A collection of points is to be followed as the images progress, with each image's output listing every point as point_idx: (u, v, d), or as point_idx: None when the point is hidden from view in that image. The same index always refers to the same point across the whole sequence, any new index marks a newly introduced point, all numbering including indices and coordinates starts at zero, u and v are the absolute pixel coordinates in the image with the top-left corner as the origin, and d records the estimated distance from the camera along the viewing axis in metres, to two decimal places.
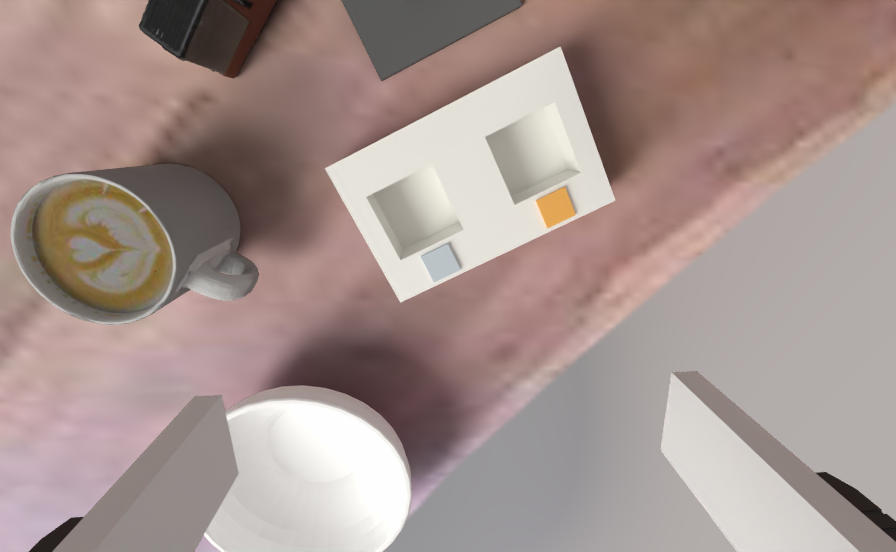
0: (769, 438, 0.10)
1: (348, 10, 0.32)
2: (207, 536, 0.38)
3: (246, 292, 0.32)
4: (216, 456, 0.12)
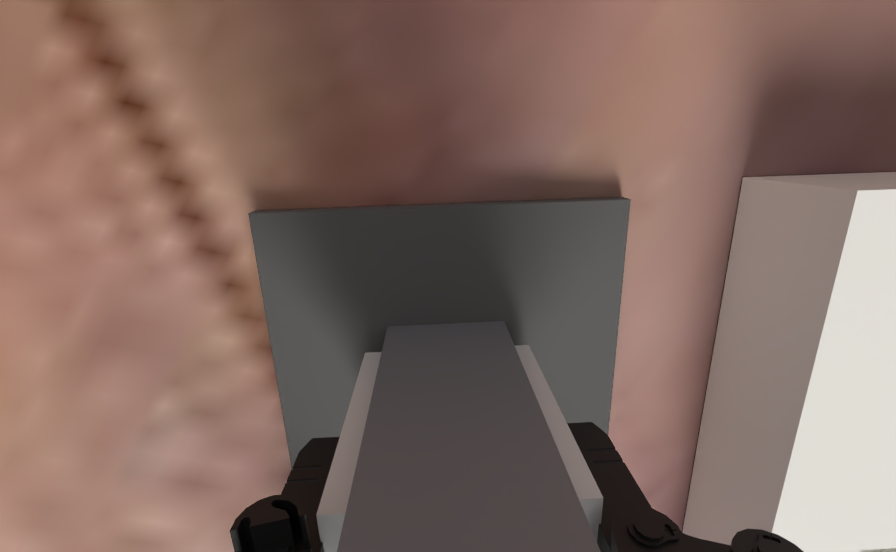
0: (548, 394, 0.12)
1: None
2: None
3: None
4: None
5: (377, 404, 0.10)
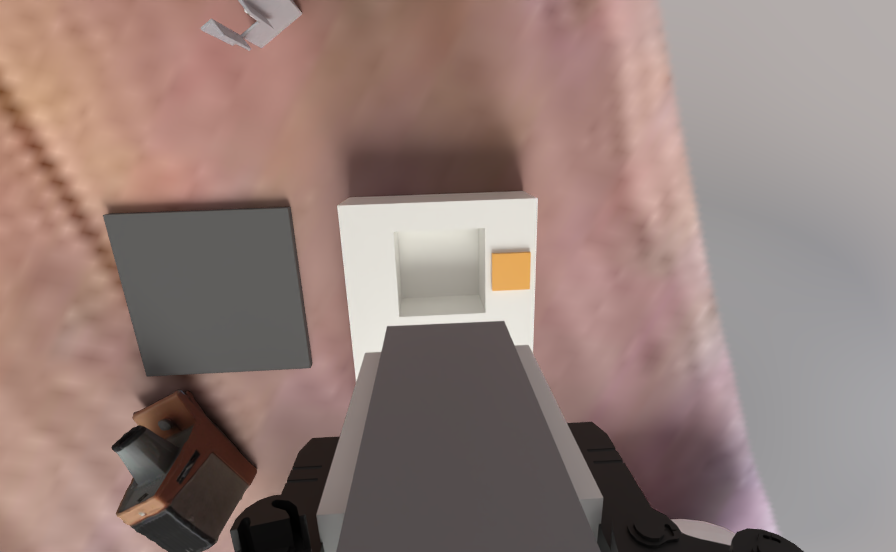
0: (548, 394, 0.12)
1: (239, 370, 0.32)
2: None
3: None
4: None
5: (377, 404, 0.10)
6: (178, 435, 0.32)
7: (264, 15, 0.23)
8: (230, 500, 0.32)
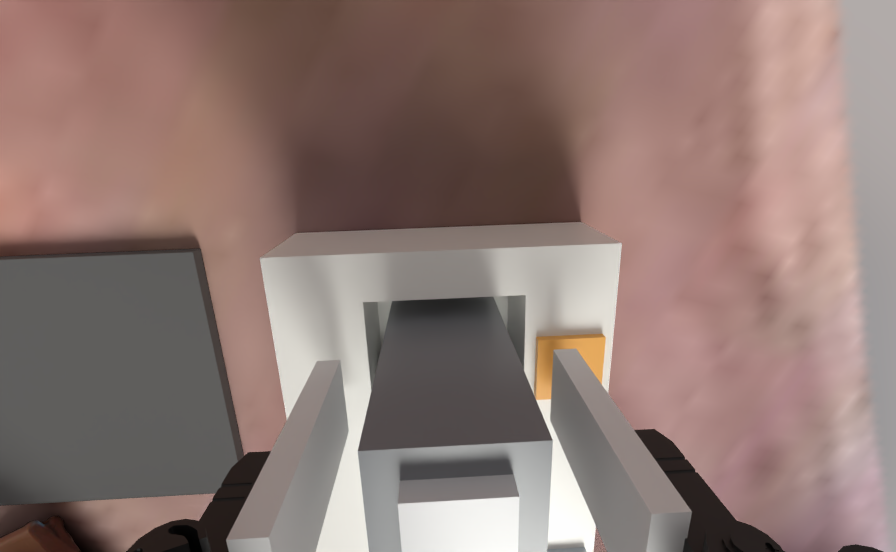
0: (608, 400, 0.11)
1: (134, 495, 0.21)
2: None
3: None
4: (339, 412, 0.13)
5: (389, 335, 0.14)
6: None
7: None
8: None
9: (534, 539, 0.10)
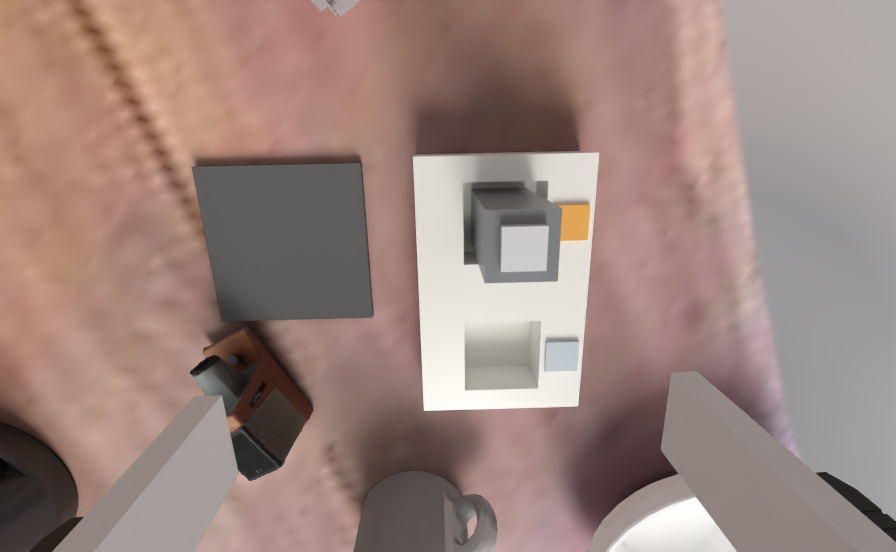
0: (769, 438, 0.10)
1: (307, 317, 0.34)
2: None
3: (494, 526, 0.34)
4: (216, 456, 0.12)
5: (479, 196, 0.27)
6: (244, 369, 0.35)
7: None
8: (292, 430, 0.34)
9: (553, 257, 0.23)
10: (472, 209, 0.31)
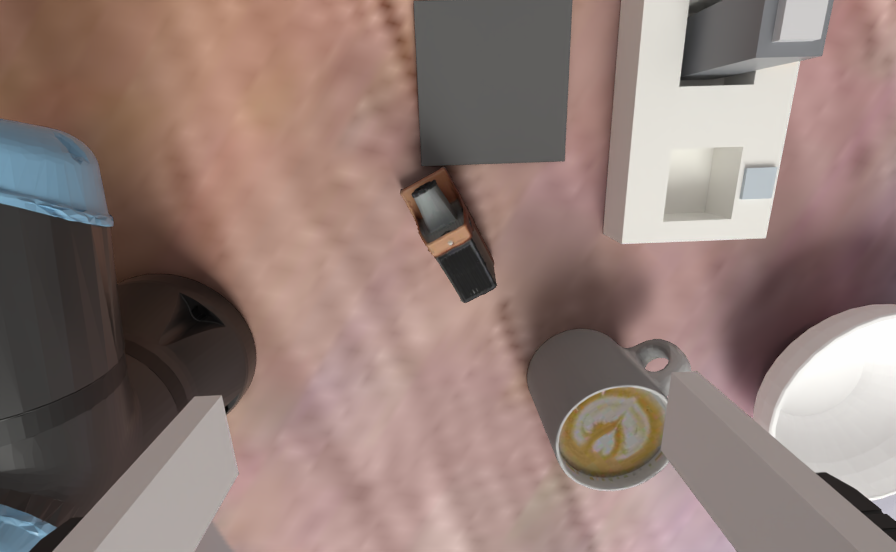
0: (769, 438, 0.10)
1: (502, 161, 0.36)
2: None
3: None
4: (216, 456, 0.12)
5: None
6: None
7: None
8: (491, 265, 0.35)
9: (822, 29, 0.25)
10: None
